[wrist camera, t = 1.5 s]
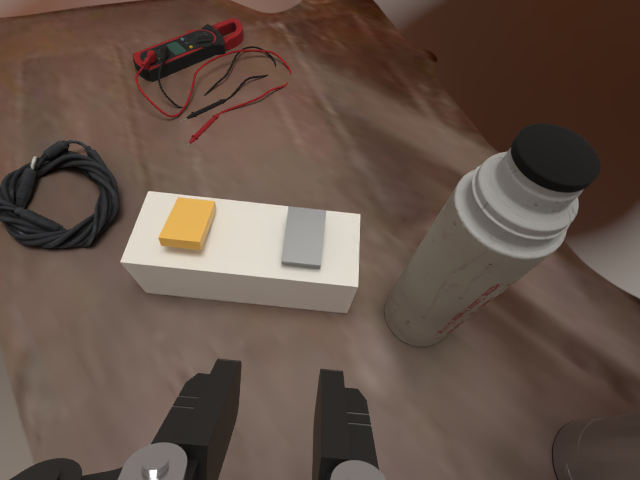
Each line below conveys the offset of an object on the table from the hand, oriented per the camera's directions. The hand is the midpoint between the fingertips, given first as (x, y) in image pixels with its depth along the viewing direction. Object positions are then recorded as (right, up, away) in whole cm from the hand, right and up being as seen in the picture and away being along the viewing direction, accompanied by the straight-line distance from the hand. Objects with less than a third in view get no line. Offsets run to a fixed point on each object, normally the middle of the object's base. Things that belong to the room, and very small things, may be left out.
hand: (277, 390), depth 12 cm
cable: (-33, +9, +38) cm, 51 cm away
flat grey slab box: (0, +5, +27) cm, 28 cm away
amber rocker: (-12, +6, +27) cm, 31 cm away
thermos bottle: (+13, -4, +34) cm, 36 cm away
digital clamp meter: (-17, +33, +53) cm, 65 cm away
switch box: (-7, +1, +35) cm, 36 cm away
